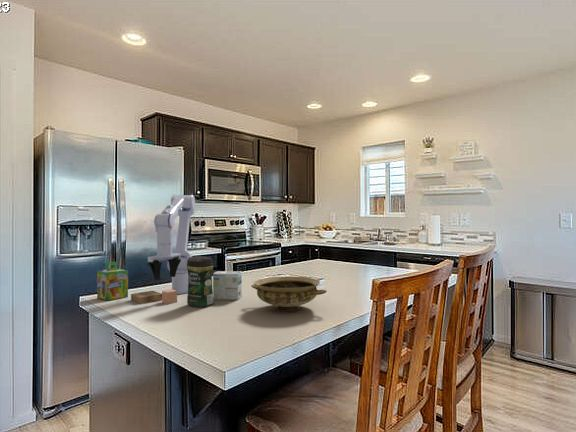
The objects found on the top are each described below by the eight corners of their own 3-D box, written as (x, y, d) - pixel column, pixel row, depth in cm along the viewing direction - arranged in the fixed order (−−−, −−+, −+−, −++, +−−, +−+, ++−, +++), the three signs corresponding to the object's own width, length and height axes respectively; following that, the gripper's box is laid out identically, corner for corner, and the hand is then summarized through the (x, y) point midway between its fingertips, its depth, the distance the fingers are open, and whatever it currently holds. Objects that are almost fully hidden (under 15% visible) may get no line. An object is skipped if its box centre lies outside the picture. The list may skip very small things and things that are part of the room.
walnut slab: (152, 297, 154) (152, 290, 154) (162, 301, 148) (162, 293, 148) (131, 301, 148) (130, 293, 148) (140, 305, 141) (139, 297, 141)
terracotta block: (172, 300, 147) (172, 289, 147) (177, 302, 144) (177, 290, 144) (162, 302, 144) (162, 291, 144) (167, 304, 141) (166, 292, 141)
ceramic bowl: (338, 305, 135) (337, 279, 135) (310, 323, 114) (310, 291, 114) (269, 297, 150) (268, 273, 150) (233, 311, 129) (233, 283, 129)
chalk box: (107, 301, 146) (106, 264, 146) (96, 298, 152) (95, 263, 152) (129, 297, 154) (128, 262, 154) (117, 294, 159) (117, 260, 159)
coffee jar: (183, 305, 138) (182, 256, 138) (198, 301, 145) (198, 254, 145) (201, 308, 133) (201, 258, 133) (217, 304, 140) (216, 255, 140)
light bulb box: (242, 296, 153) (242, 270, 153) (238, 300, 146) (238, 273, 146) (217, 296, 154) (217, 270, 154) (212, 299, 147) (212, 273, 147)
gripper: (172, 242, 152) (172, 274, 152) (142, 244, 140) (142, 280, 140) (184, 242, 148) (184, 276, 148) (154, 245, 136) (154, 281, 136)
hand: (165, 278), depth 144 cm, fingers open, 7 cm apart
